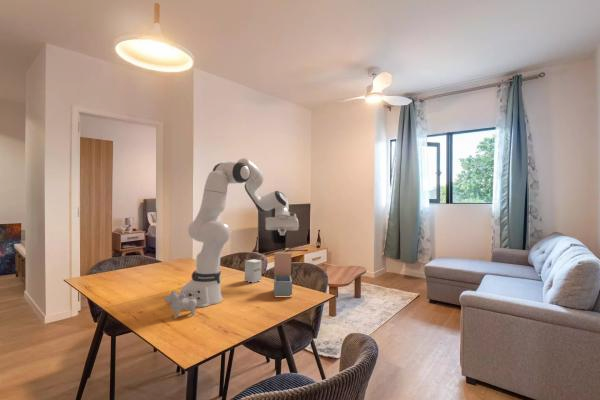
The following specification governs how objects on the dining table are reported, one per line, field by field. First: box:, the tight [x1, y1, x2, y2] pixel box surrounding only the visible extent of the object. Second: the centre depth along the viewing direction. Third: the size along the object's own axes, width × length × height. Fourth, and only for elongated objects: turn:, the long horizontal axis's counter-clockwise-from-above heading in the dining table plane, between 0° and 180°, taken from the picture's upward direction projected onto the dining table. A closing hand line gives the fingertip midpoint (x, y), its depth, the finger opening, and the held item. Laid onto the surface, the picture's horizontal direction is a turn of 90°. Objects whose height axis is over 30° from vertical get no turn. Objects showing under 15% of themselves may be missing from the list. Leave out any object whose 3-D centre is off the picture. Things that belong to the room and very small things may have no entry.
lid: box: [273, 251, 293, 276], centre depth 165 cm, size 9×13×1 cm
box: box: [273, 274, 293, 297], centre depth 160 cm, size 9×13×8 cm
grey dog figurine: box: [163, 290, 197, 319], centre depth 127 cm, size 5×13×11 cm, turn 112°
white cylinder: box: [244, 258, 263, 284], centre depth 182 cm, size 7×7×13 cm
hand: (282, 234), depth 178 cm, fingers closed
